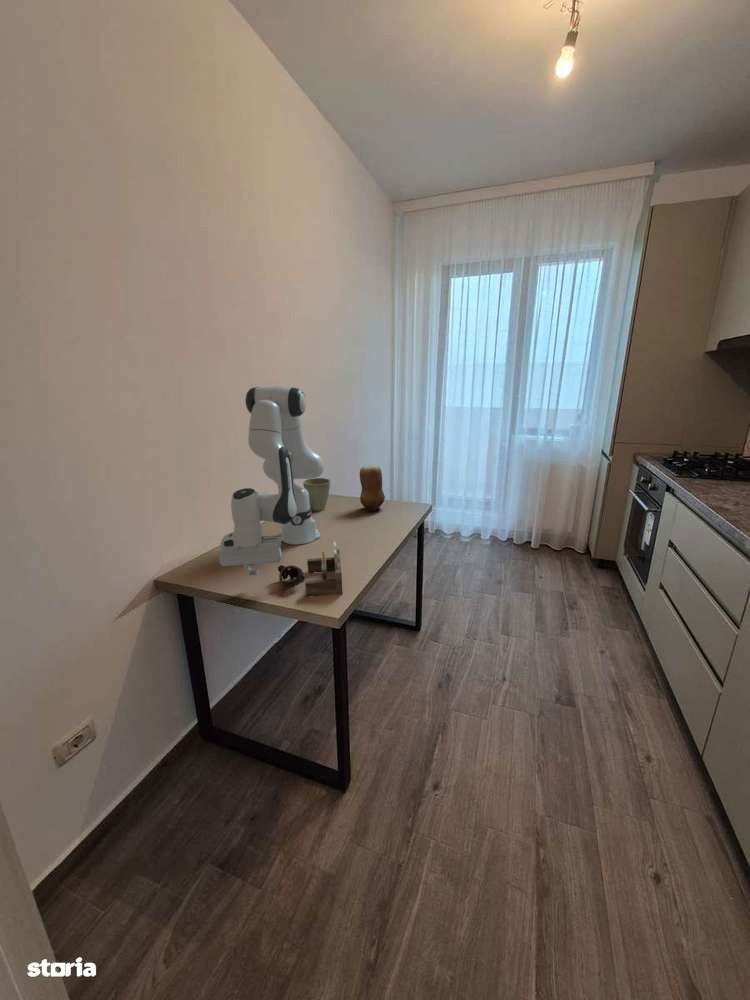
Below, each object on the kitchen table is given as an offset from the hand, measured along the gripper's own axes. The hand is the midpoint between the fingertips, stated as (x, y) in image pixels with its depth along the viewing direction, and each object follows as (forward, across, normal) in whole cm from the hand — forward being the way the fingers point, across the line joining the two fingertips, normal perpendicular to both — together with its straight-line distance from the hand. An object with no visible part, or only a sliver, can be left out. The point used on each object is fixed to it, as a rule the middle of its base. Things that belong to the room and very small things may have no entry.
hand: (253, 574), depth 138 cm
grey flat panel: (+5, -25, 0) cm, 26 cm away
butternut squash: (+4, -51, -78) cm, 94 cm away
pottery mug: (+5, -12, -1) cm, 14 cm away
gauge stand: (+5, -25, 0) cm, 26 cm away
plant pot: (+4, -22, -86) cm, 89 cm away
